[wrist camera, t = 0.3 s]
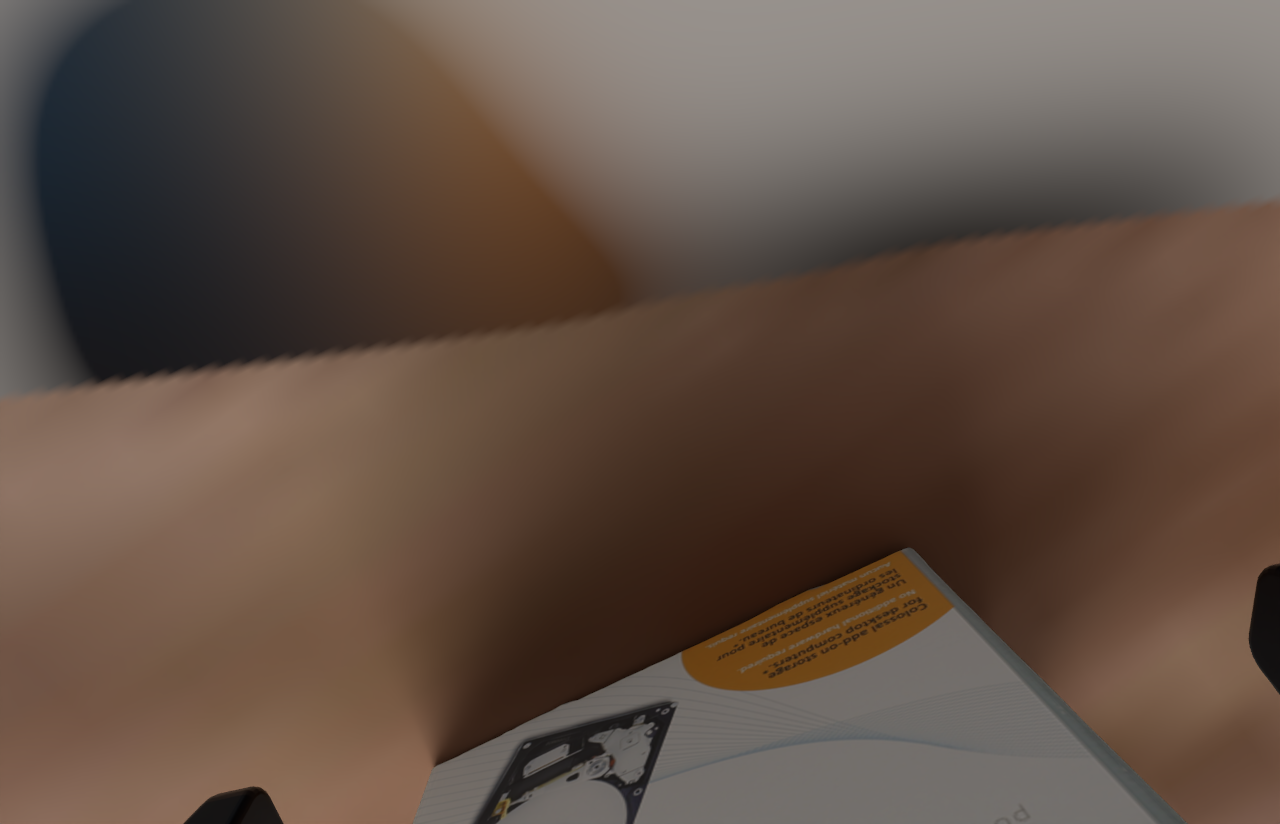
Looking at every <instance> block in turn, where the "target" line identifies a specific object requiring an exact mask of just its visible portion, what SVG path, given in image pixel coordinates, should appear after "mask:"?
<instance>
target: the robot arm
mask: <svg viewBox="0 0 1280 824" xmlns="http://www.w3.org/2000/svg"><path fill="white" fill-rule="evenodd" d="M1249 645H1250V649H1251V652H1252V655H1253V657H1254V659H1255V661H1256V663H1257V665H1258V666H1259V668H1260V669H1261V671H1262V672H1263V673H1264V675H1265V676H1266V677H1267V679H1268V680H1269V681H1270V682H1271V684H1272V685H1273V686H1274V688H1275V689H1276V690H1277V692H1278V693H1279V694H1280V564H1275V565H1271V566H1269V567H1267V568H1265V569H1264V570H1263V571H1262V573H1261V574H1260V575H1259V577H1258V580H1257V585H1256V592H1255V598H1254V605H1253V611H1252V618H1251V624H1250V631H1249ZM184 824H283V822H282V820H281V818H280V816H279V814H278V812H277V810H276V808H275V806H274V804H273V802H272V800H271V798H270V797H269V795H268V794H267V792H266V791H264V790H263V789H262V788H260V787H248V788H243V789H238V790H234V791H229V792H225V793H220V794H217V795H215V796H212V797H211V798H209V799H208V800H207V801H206V802H204V803H203V804H202V805H201V806H200V807H199V808H198V809H197V810H196V811H195V812H194V813H193V814H192V815H191V816H190V817H189V818H188V819H187V820H186V822H185V823H184Z"/></svg>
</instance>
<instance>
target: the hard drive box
mask: <svg viewBox="0 0 1280 824" xmlns="http://www.w3.org/2000/svg"><path fill="white" fill-rule="evenodd" d="M413 824H1187V823H1186V822H1185V821H1184V820H1183V819H1182V818H1181V817H1180V816H1179V815H1178V814H1177V813H1176V812H1175V811H1174V810H1173V809H1172V808H1171V807H1170V806H1169V805H1168V804H1167V803H1166V802H1165V801H1164V800H1163V799H1162V798H1161V797H1160V796H1159V795H1158V794H1157V793H1156V792H1155V791H1154V790H1153V789H1152V788H1151V787H1150V786H1149V785H1148V784H1147V783H1146V782H1145V781H1144V780H1143V779H1142V778H1141V777H1140V776H1139V775H1138V774H1137V773H1136V772H1135V771H1134V770H1133V769H1132V768H1131V767H1130V766H1129V765H1128V764H1127V763H1125V762H1124V761H1123V760H1122V759H1121V758H1120V757H1119V756H1118V755H1117V754H1116V753H1115V752H1114V751H1113V750H1112V749H1111V748H1110V747H1109V746H1108V745H1107V744H1106V743H1105V742H1104V741H1103V740H1102V739H1101V738H1100V737H1099V736H1098V735H1097V734H1096V733H1095V732H1094V731H1093V730H1092V729H1091V728H1090V727H1089V726H1088V725H1087V724H1086V723H1085V722H1084V721H1083V720H1082V719H1081V718H1080V717H1079V716H1078V715H1077V714H1076V713H1075V712H1074V711H1073V710H1072V709H1071V708H1070V707H1069V706H1068V705H1067V704H1066V703H1065V702H1064V701H1063V700H1062V699H1061V698H1060V697H1059V696H1058V695H1057V694H1056V693H1055V692H1054V691H1053V690H1052V689H1051V688H1050V687H1049V686H1048V685H1047V684H1046V683H1045V682H1044V681H1043V680H1042V679H1041V678H1040V677H1039V676H1038V675H1037V674H1036V673H1035V672H1034V671H1033V670H1032V669H1031V668H1030V667H1029V666H1028V665H1027V664H1026V663H1025V662H1024V661H1023V660H1022V659H1021V658H1020V657H1019V656H1018V655H1017V654H1016V653H1015V652H1014V651H1013V650H1012V649H1011V648H1010V647H1009V646H1008V645H1007V644H1006V643H1005V642H1004V641H1003V640H1002V639H1001V638H1000V637H999V636H998V635H997V634H996V633H995V632H994V631H993V630H992V629H991V628H990V627H989V626H988V625H987V624H985V622H984V621H983V620H982V619H981V618H980V617H979V616H978V615H977V614H976V613H975V612H974V611H973V610H972V609H971V608H970V607H969V606H968V605H967V604H966V603H965V602H964V601H963V600H962V599H961V598H960V597H959V596H958V595H957V594H956V593H955V592H954V591H953V590H952V589H951V588H950V587H949V586H948V585H947V584H946V583H945V582H944V581H943V580H942V579H941V578H940V577H939V576H938V575H937V574H936V573H935V572H934V571H933V570H932V569H931V568H930V567H929V566H928V564H927V563H926V562H925V561H924V560H923V559H922V558H921V556H920V555H919V554H918V553H917V552H916V551H915V550H914V549H912V548H905V549H903V550H900V551H898V552H896V553H893V554H891V555H889V556H887V557H885V558H883V559H881V560H879V561H877V562H874V563H872V564H870V565H868V566H866V567H863V568H861V569H859V570H857V571H855V572H853V573H850V574H848V575H846V576H844V577H841V578H839V579H837V580H835V581H833V582H831V583H828V584H825V585H822V586H819V587H816V588H813V589H810V590H807V591H805V592H803V593H801V594H799V595H797V596H795V597H793V598H791V599H789V600H787V601H784V602H782V603H780V604H778V605H776V606H774V607H773V608H771V609H769V610H767V611H765V612H763V613H762V614H760V615H758V616H756V617H754V618H752V619H750V620H748V621H746V622H744V623H742V624H740V625H738V626H736V627H734V628H732V629H729V630H727V631H725V632H723V633H721V634H719V635H717V636H715V637H713V638H710V639H708V640H706V641H704V642H702V643H700V644H697V645H695V646H693V647H691V648H689V649H686V650H684V651H682V652H680V653H678V654H676V655H674V656H672V657H670V658H668V659H666V660H663V661H661V662H659V663H656V664H654V665H652V666H650V667H648V668H646V669H644V670H642V671H639V672H637V673H635V674H633V675H630V676H628V677H626V678H624V679H622V680H620V681H617V682H615V683H613V684H611V685H609V686H607V687H605V688H603V689H601V690H598V691H596V692H594V693H592V694H589V695H587V696H585V697H583V698H581V699H579V700H576V701H571V702H568V703H565V704H563V705H560V706H559V707H557V708H555V709H554V710H552V711H550V712H547V713H545V714H543V715H541V716H538V717H536V718H534V719H532V720H530V721H528V722H526V723H524V724H522V725H520V726H518V727H516V728H515V729H513V730H511V731H508V732H506V733H504V734H503V735H501V736H499V737H497V738H495V739H493V740H491V741H488V742H486V743H484V744H482V745H480V746H478V747H476V748H474V749H472V750H470V751H468V752H465V753H463V754H461V755H460V756H458V757H455V758H453V759H451V760H449V761H446V762H444V763H442V764H440V765H437V766H436V767H434V768H433V769H432V772H431V775H430V777H429V780H428V783H427V786H426V788H425V791H424V794H423V797H422V799H421V802H420V805H419V808H418V810H417V813H416V816H415V819H414V821H413Z"/></svg>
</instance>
